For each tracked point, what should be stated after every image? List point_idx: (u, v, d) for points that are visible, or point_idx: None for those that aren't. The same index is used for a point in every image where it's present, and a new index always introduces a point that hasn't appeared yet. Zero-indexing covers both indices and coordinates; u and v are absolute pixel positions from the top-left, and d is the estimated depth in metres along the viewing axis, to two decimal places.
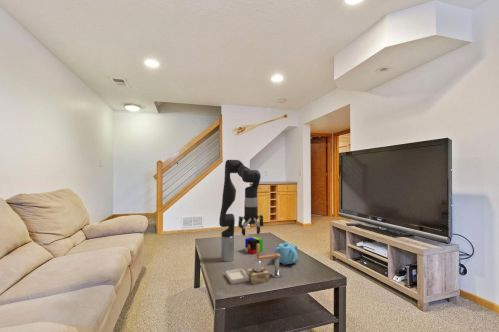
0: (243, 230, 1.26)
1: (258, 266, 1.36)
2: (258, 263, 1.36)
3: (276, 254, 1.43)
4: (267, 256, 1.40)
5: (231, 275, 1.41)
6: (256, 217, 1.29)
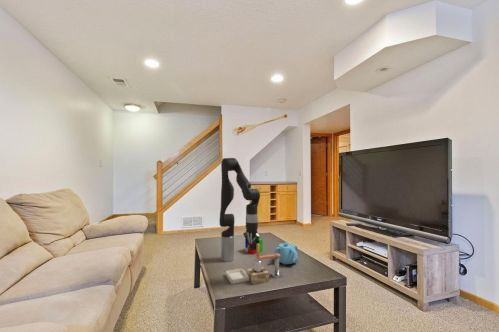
0: None
1: (258, 266, 1.36)
2: (258, 263, 1.36)
3: (276, 254, 1.43)
4: (267, 256, 1.40)
5: (231, 275, 1.41)
6: None
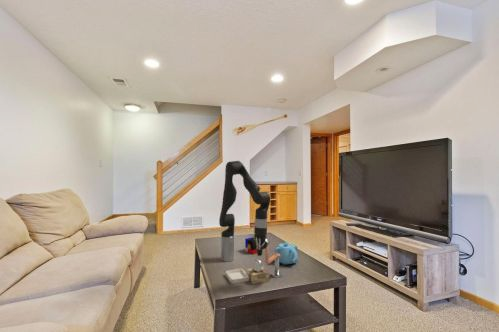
0: None
1: (258, 266, 1.36)
2: (258, 263, 1.36)
3: (276, 254, 1.43)
4: (273, 258, 1.37)
5: (231, 275, 1.41)
6: None
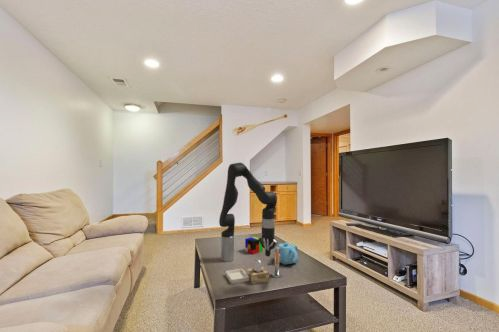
0: None
1: (258, 266, 1.36)
2: (258, 263, 1.36)
3: None
4: None
5: (231, 275, 1.41)
6: None
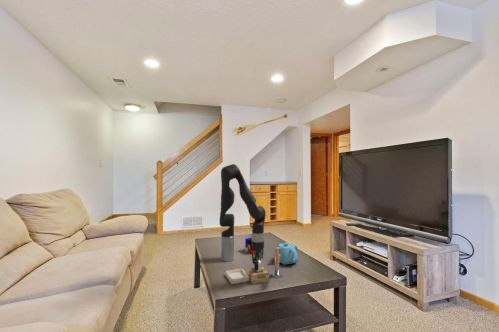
0: None
1: (258, 266, 1.36)
2: (258, 263, 1.36)
3: None
4: None
5: (231, 275, 1.41)
6: None
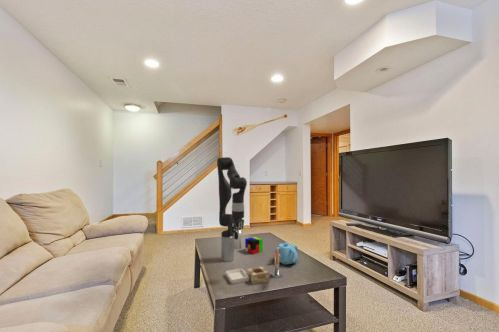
0: None
1: (238, 235, 1.38)
2: (238, 232, 1.38)
3: None
4: None
5: (231, 275, 1.41)
6: None
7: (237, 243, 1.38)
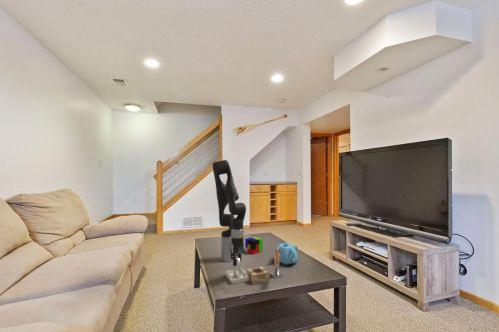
0: None
1: (237, 264, 1.38)
2: (237, 261, 1.38)
3: None
4: None
5: (231, 275, 1.41)
6: None
7: (236, 271, 1.37)
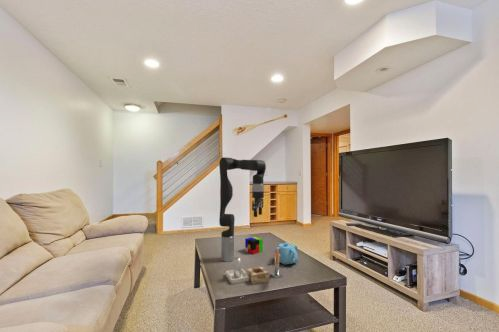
0: None
1: (237, 264, 1.38)
2: (237, 261, 1.38)
3: None
4: None
5: (231, 275, 1.41)
6: None
7: (236, 272, 1.37)
